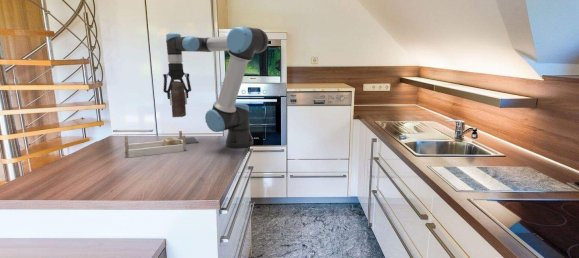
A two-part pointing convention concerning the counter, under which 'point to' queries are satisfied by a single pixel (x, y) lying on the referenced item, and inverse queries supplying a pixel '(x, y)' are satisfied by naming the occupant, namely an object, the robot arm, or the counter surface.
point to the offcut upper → (171, 141)
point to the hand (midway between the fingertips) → (178, 104)
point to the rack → (153, 147)
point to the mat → (190, 140)
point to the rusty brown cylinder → (178, 99)
